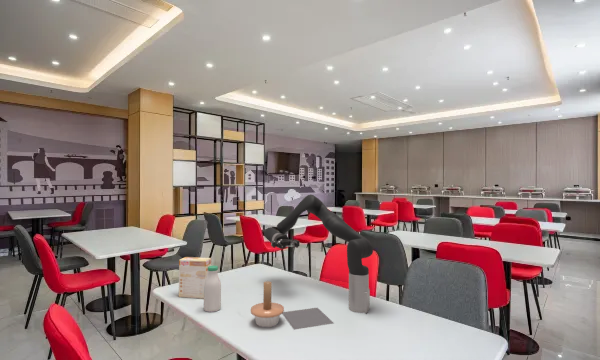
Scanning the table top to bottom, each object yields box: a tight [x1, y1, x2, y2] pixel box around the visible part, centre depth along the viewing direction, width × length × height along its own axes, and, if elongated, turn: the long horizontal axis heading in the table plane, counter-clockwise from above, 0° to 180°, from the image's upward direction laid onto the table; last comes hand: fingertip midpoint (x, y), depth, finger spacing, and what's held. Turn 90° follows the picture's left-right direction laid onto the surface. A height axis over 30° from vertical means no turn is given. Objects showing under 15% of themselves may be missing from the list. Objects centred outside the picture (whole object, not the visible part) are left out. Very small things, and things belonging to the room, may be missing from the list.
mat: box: [281, 307, 334, 331], centre depth 141 cm, size 18×18×1 cm
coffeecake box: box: [178, 256, 212, 300], centre depth 168 cm, size 15×7×20 cm, turn 80°
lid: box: [250, 280, 285, 318], centre depth 137 cm, size 14×14×12 cm
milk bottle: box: [203, 265, 222, 313], centre depth 151 cm, size 8×8×20 cm
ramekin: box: [254, 315, 281, 328], centre depth 136 cm, size 11×11×5 cm
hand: (289, 246), depth 160 cm, fingers open, 8 cm apart
